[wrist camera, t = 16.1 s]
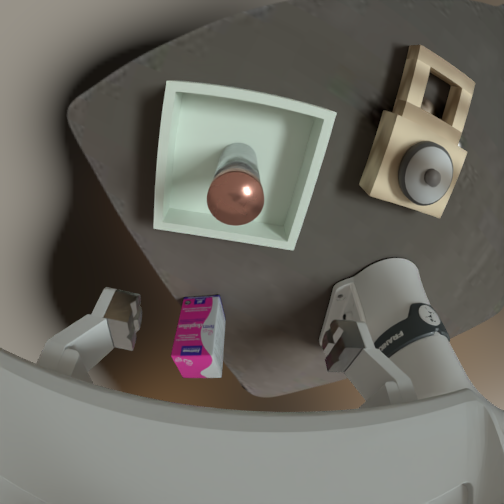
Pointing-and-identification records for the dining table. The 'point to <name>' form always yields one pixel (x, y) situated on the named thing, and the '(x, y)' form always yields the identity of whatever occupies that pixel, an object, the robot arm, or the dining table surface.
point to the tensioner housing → (419, 139)
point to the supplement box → (200, 338)
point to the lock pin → (236, 186)
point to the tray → (228, 132)
